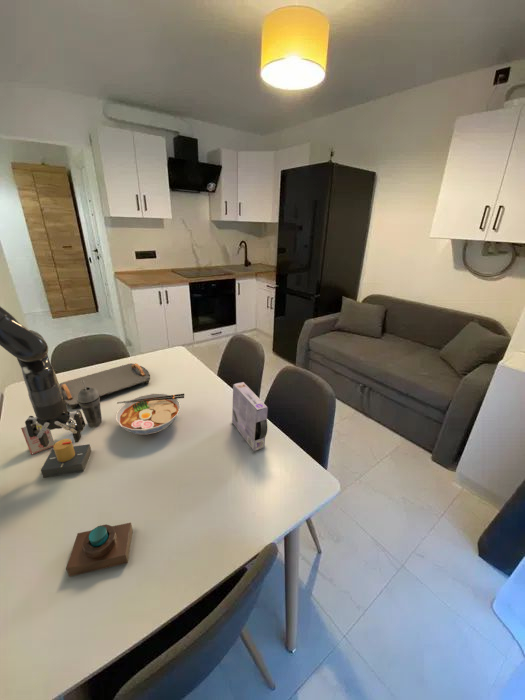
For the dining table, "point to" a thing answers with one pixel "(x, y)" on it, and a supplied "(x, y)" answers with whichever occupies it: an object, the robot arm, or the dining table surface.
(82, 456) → the dial panel
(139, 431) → the ramen bowl
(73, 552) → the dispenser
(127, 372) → the serving tray
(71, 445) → the dial
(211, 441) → the dining table surface
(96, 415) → the beverage cup
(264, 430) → the cake pan box
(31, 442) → the pink printed box
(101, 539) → the button
